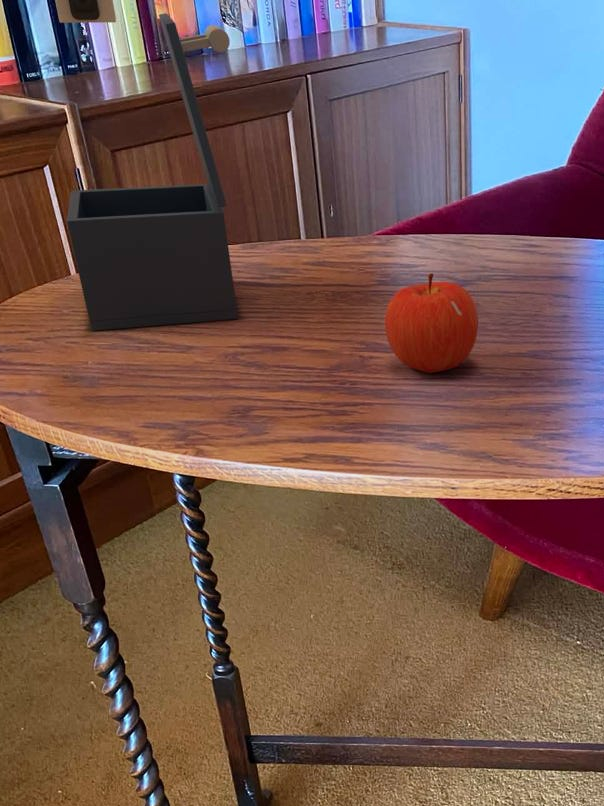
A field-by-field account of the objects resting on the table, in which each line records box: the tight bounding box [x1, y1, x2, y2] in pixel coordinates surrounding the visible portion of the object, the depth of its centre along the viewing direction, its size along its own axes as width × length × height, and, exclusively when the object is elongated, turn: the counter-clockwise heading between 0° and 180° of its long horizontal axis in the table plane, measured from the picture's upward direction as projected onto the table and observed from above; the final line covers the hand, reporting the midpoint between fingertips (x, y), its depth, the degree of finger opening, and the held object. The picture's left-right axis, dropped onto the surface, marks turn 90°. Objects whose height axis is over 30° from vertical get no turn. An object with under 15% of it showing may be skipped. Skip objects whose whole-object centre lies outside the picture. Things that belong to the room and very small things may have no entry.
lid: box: [158, 13, 231, 208], centre depth 90 cm, size 15×14×5 cm
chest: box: [66, 183, 239, 332], centre depth 96 cm, size 14×14×10 cm
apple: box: [384, 272, 479, 374], centre depth 83 cm, size 8×8×8 cm
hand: (87, 16), depth 81 cm, fingers closed on block, 4 cm apart
